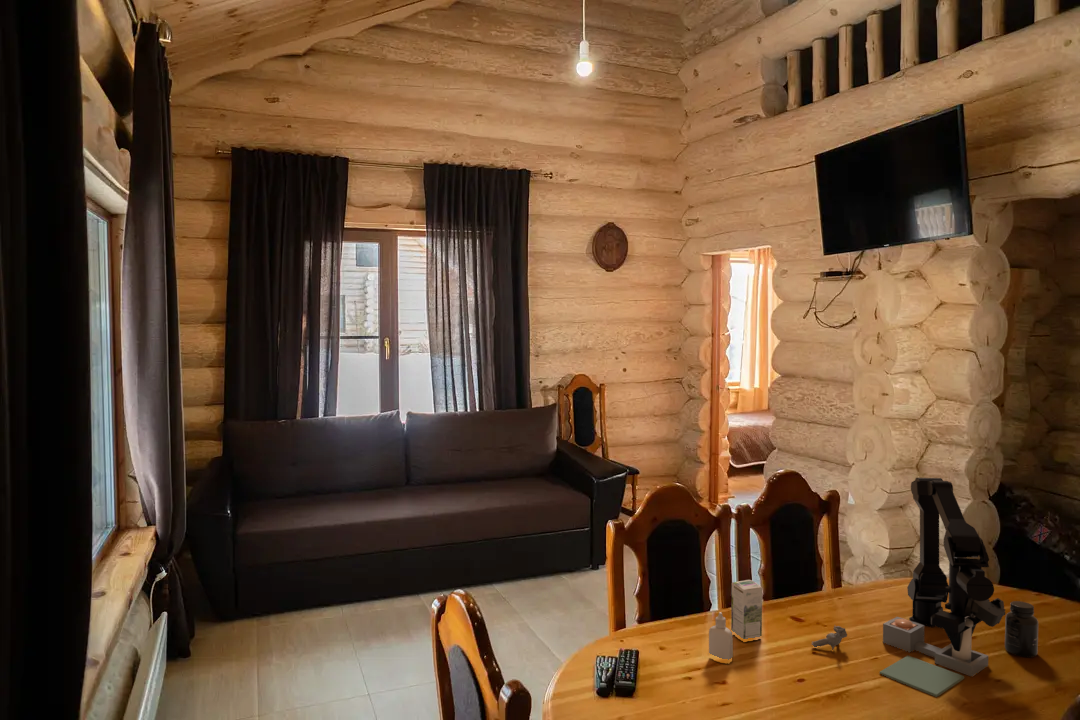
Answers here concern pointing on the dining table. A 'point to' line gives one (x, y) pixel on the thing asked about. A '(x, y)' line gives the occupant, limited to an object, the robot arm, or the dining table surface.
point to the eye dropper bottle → (720, 639)
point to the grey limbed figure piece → (832, 638)
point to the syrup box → (746, 609)
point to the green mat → (922, 675)
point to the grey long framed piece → (931, 648)
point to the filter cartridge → (965, 644)
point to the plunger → (903, 624)
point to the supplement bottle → (1021, 630)
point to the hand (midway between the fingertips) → (961, 648)
